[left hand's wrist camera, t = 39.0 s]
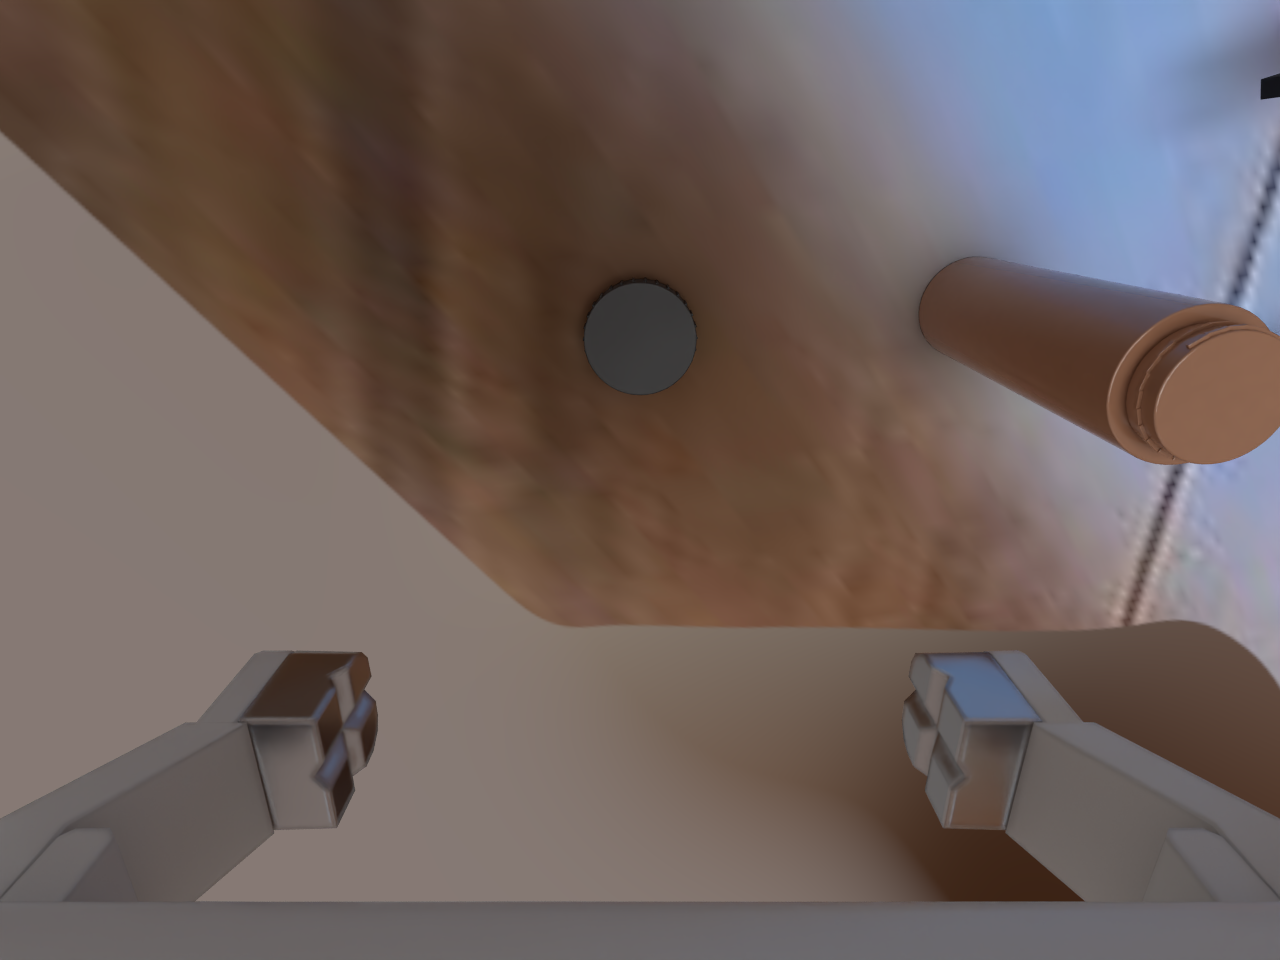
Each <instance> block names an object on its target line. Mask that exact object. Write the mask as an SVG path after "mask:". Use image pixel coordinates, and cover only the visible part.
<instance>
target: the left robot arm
mask: <svg viewBox="0 0 1280 960" xmlns="http://www.w3.org/2000/svg"><path fill="white" fill-rule="evenodd" d="M370 678H371V672H370V667H369V662H368V658H367V657H366V656H365V655H364V654H363V653H362V652H328V651H295V652H294V651H261V652H259V653H256V654H254V655H253V656H252V657H251V658H250V660H249V661H248V662H247V663H246V665H245V666H244V667H243V668H242V669H241V670H240V672H239V673H238V674H237V675H236V676H235V677H234V679H233V680H232V681H231V682H230V683H229V685H228V686H227V687H226V688H225V689H224V691H223V692H222V693H221V694H220V695H219V696H218V698H217V699H216V700H215V701H214V702H213V703H212V705H211V706H210V707H209V708H208V709H207V711H206V712H205V713H204V714H203V715H202V717H201V718H200V719H199V720H198V721H197V722H196V723H184V724H182V725H180V726H178V727H176V728H174V729H172V730H170V731H168V732H166V733H164V734H163V735H161V736H159V737H157V738H155V739H153V740H151V741H149V742H147V743H145V744H143V745H141V746H139V747H137V748H136V749H134V750H132V751H130V752H128V753H126V754H124V755H122V756H120V757H118V758H116V759H114V760H113V761H110V762H109V763H107V764H105V765H103V766H101V767H99V768H97V769H95V770H93V771H91V772H89V773H87V774H85V775H83V776H82V777H80V778H78V779H76V780H74V781H72V782H70V783H68V784H66V785H64V786H62V787H60V788H58V789H56V790H55V791H53V792H51V793H49V794H47V795H45V796H43V797H41V798H39V799H37V800H35V801H33V802H31V803H30V804H28V805H26V806H24V807H22V808H20V809H18V810H16V811H14V812H12V813H10V814H8V815H6V816H4V817H3V818H1V819H0V960H1280V819H1279V818H1277V817H1275V816H1273V815H1271V814H1269V813H1267V812H1265V811H1264V810H1262V809H1260V808H1258V807H1256V806H1254V805H1252V804H1250V803H1248V802H1246V801H1244V800H1242V799H1240V798H1239V797H1237V796H1235V795H1233V794H1231V793H1229V792H1227V791H1225V790H1223V789H1221V788H1219V787H1217V786H1215V785H1214V784H1212V783H1210V782H1208V781H1206V780H1204V779H1202V778H1200V777H1198V776H1196V775H1194V774H1192V773H1190V772H1188V771H1187V770H1185V769H1183V768H1181V767H1179V766H1177V765H1175V764H1173V763H1171V762H1169V761H1167V760H1165V759H1164V758H1162V757H1160V756H1158V755H1156V754H1154V753H1152V752H1150V751H1148V750H1146V749H1144V748H1142V747H1141V746H1139V745H1137V744H1135V743H1133V742H1131V741H1129V740H1127V739H1125V738H1123V737H1121V736H1119V735H1117V734H1115V733H1114V732H1112V731H1110V730H1108V729H1106V728H1104V727H1102V726H1100V725H1098V724H1096V723H1084V722H1083V721H1082V720H1081V719H1080V718H1079V717H1078V715H1077V714H1076V713H1075V712H1074V711H1073V709H1072V708H1071V707H1070V706H1069V705H1068V704H1067V702H1066V701H1065V700H1064V699H1063V698H1062V696H1061V695H1060V694H1059V693H1058V692H1057V691H1056V689H1055V688H1054V687H1053V686H1052V685H1051V683H1050V682H1049V681H1048V680H1047V679H1046V678H1045V676H1044V675H1043V674H1042V673H1041V672H1040V670H1039V669H1038V668H1037V667H1036V666H1035V665H1034V663H1033V662H1032V661H1031V660H1030V659H1029V657H1028V656H1027V655H1026V654H1024V653H1022V652H1020V651H1018V650H1010V651H984V652H960V653H959V652H958V653H915V655H914V657H913V659H912V661H911V666H910V671H909V678H910V680H911V681H912V683H913V685H914V687H915V689H916V690H915V691H914V692H913V693H912V694H911V695H910V696H909V697H908V698H907V699H906V700H905V701H904V708H903V716H902V726H903V738H904V742H905V746H906V750H907V753H908V755H909V757H910V760H911V762H912V764H913V766H914V767H915V768H917V769H918V770H919V771H921V772H922V773H924V774H925V775H926V776H927V782H926V787H925V791H926V794H927V796H928V798H929V800H930V802H931V804H932V806H933V808H934V810H935V812H936V814H937V816H938V818H939V820H940V822H941V824H942V826H943V828H954V829H991V830H1006V833H1007V834H1008V835H1009V836H1010V837H1011V838H1012V839H1013V840H1015V841H1016V842H1017V843H1018V844H1019V845H1020V846H1022V847H1023V848H1024V849H1025V850H1026V851H1027V852H1029V853H1030V854H1031V855H1032V856H1033V857H1034V858H1035V859H1037V860H1038V861H1039V862H1040V863H1041V864H1043V865H1044V866H1045V867H1046V868H1047V869H1048V870H1049V871H1051V872H1052V873H1053V874H1054V875H1055V876H1056V877H1058V878H1059V879H1060V880H1061V881H1062V882H1063V883H1065V884H1066V885H1067V886H1068V887H1069V888H1070V889H1072V890H1073V891H1074V892H1075V893H1076V894H1078V895H1079V896H1080V897H1081V898H1082V899H1083V900H1084V901H1086V902H195V901H196V900H197V899H198V898H199V897H200V896H202V895H203V894H204V893H205V892H206V891H207V890H209V889H210V888H211V887H212V886H213V885H214V884H216V883H217V882H218V881H219V880H220V879H221V878H223V877H224V876H225V875H226V874H227V873H228V872H229V871H231V870H232V869H233V868H234V867H235V866H237V865H238V864H239V863H240V862H241V861H242V860H244V859H245V858H246V857H247V856H248V855H249V854H251V853H252V852H253V851H254V850H255V849H256V848H258V847H259V846H260V845H261V844H262V843H263V842H265V841H266V840H267V839H268V838H269V837H270V836H272V835H273V834H274V830H289V829H323V828H337V827H338V825H339V822H340V820H341V818H342V816H343V814H344V812H345V810H346V808H347V806H348V804H349V802H350V800H351V798H352V796H353V794H354V791H355V787H354V782H353V776H354V775H355V774H356V773H358V772H359V771H361V770H362V769H363V768H365V767H366V766H367V764H368V762H369V760H370V757H371V755H372V753H373V750H374V746H375V741H376V736H377V731H378V714H377V707H376V701H375V700H374V699H373V698H372V697H371V696H370V695H369V694H368V693H367V692H366V691H365V690H364V689H365V687H366V685H367V683H368V682H369V680H370Z"/></svg>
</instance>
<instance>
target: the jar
mask: <svg viewBox="0 0 1280 960" xmlns="http://www.w3.org/2000/svg"><path fill="white" fill-rule="evenodd" d="M919 321H920V327H921V330H922V333H923V335H924V337H925V338H926V340H927V341H928V343H929V344H930V345H931V346H932V347H933V348H935V349H936V350H937V351H939V352H941V353H943V354H945V355H946V356H948V357H950V358H952V359H954V360H956V361H958V362H959V363H961V364H963V365H965V366H967V367H969V368H971V369H972V370H974V371H976V372H978V373H980V374H982V375H984V376H985V377H987V378H989V379H991V380H993V381H995V382H997V383H999V384H1000V385H1002V386H1004V387H1006V388H1008V389H1010V390H1012V391H1013V392H1015V393H1017V394H1019V395H1021V396H1023V397H1025V398H1026V399H1028V400H1030V401H1032V402H1034V403H1036V404H1038V405H1039V406H1041V407H1043V408H1045V409H1047V410H1049V411H1051V412H1052V413H1054V414H1056V415H1058V416H1060V417H1062V418H1064V419H1065V420H1067V421H1069V422H1071V423H1073V424H1075V425H1077V426H1079V427H1080V428H1082V429H1084V430H1086V431H1088V432H1090V433H1092V434H1093V435H1095V436H1097V437H1099V438H1101V439H1103V440H1105V441H1106V442H1108V443H1110V444H1112V445H1114V446H1116V447H1118V448H1119V449H1121V450H1123V451H1125V452H1127V453H1129V454H1131V455H1132V456H1134V457H1136V458H1138V459H1141V460H1143V461H1146V462H1150V463H1154V464H1163V465H1173V464H1183V463H1189V462H1190V463H1194V464H1215V463H1222V462H1226V461H1230V460H1232V459H1235V458H1238V457H1240V456H1242V455H1244V454H1246V453H1248V452H1250V451H1252V450H1253V449H1255V448H1257V447H1258V446H1259V445H1261V444H1262V443H1263V442H1265V441H1266V440H1267V439H1268V438H1269V437H1270V436H1271V435H1272V434H1273V433H1274V432H1275V431H1276V430H1277V429H1278V428H1279V427H1280V336H1278V335H1277V334H1275V333H1273V332H1271V331H1270V330H1269V329H1268V328H1267V326H1266V325H1265V323H1264V322H1262V321H1261V320H1260V319H1259V318H1258V317H1257V316H1256V315H1254V314H1253V313H1251V312H1250V311H1248V310H1245V309H1243V308H1241V307H1238V306H1234V305H1230V304H1225V303H1220V302H1215V301H1210V300H1204V299H1199V298H1194V297H1189V296H1184V295H1178V294H1173V293H1168V292H1163V291H1158V290H1152V289H1147V288H1142V287H1137V286H1132V285H1126V284H1121V283H1116V282H1111V281H1106V280H1101V279H1095V278H1090V277H1085V276H1080V275H1075V274H1069V273H1064V272H1059V271H1054V270H1049V269H1043V268H1038V267H1033V266H1028V265H1023V264H1017V263H1012V262H1007V261H1002V260H997V259H991V258H986V257H969V258H964V259H961V260H958V261H956V262H954V263H952V264H950V265H948V266H947V267H945V268H944V269H943V270H941V271H940V272H939V273H938V274H937V275H936V276H935V277H934V278H933V279H932V281H931V282H930V283H929V285H928V286H927V288H926V290H925V292H924V294H923V297H922V300H921V304H920V309H919Z"/></svg>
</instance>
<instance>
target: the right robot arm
mask: <svg viewBox="0 0 1280 960" xmlns="http://www.w3.org/2000/svg"><path fill="white" fill-rule="evenodd" d="M1276 97H1280V74H1277V75H1273V76H1270V77H1267V78H1264V79H1261V99H1268V98H1276Z"/></svg>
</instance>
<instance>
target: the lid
mask: <svg viewBox="0 0 1280 960" xmlns="http://www.w3.org/2000/svg"><path fill="white" fill-rule="evenodd" d="M592 307H593V308H592V310H591V312H588V315H587V317H588V319H587V322H586V323H585V325H584V329H585V331H584V338H583V341H584V346H585V352H586V355H587V358H588V361H589V363H590V365H591V367H592V368H593V370H594V371H595V373H596V374H597V375H598V376H599V377H600V379H601V380H603V381H604V382H605V383H606V384H608V385H609V386H611V387H612V388H614V389H616V390H618V391H621V392H624V393H627V394H632V395H648V394H653V393H657V392H660V391H662V390H664V389H667V388H668V387H670V386H671V385H673V384H674V383H675V382H677V381H678V380H679V379H680V378H681V377H682V376H683V375H684V373H685V372H686V371H687V369H688V368H689V366H690V364H691V362H692V359H693V357H694V353H695V351H696V339H697V335H696V329H695V327H696V324H695V321H693V318H692V316H693V314H692V311H691V310H690V311H689V309H688V307H687V303H686V301H685V300H684V301H683V300H682V298H681V297H680V296H679V293H678V292H675V291H673V290H672V289H671V288H669V285H664V284H662V283H659V282H658V280H656V281H652V280H647V279H646V278H644V279H635V278H632V280H628V281H624V282H623V280H622V281H621V282H620V283H619V284H617V285H615V286H612V285H611V286H610V288H609V289H608V290H607V291H606V292H605V293H604V294H603V293H601V295H600V298H599V299H598V300H597V301H596V302H595V301H594V303H593V305H592Z"/></svg>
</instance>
